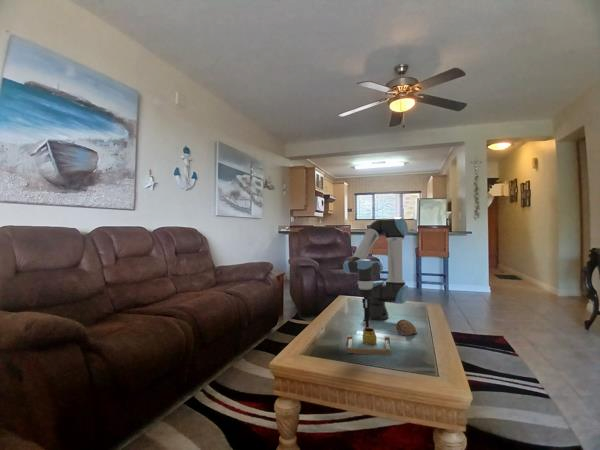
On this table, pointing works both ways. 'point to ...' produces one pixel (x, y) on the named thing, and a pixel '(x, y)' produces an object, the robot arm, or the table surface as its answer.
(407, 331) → the seashell
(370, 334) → the mug
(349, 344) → the pocket
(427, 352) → the table surface
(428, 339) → the table surface
